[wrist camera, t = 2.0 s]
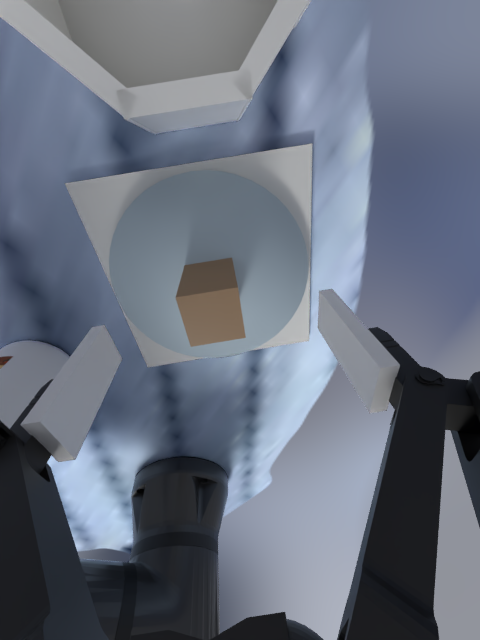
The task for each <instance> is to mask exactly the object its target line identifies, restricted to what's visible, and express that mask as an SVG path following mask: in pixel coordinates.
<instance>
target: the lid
mask: <svg viewBox="0 0 480 640" xmlns="http://www.w3.org/2000/svg"><path fill="white" fill-rule="evenodd" d="M109 269H110V278H111V282H112V287H113V290H114V292H115V295H116V298H117V300H118V302H119V304H120V306H121V307H122V309H123V311H124V312H125V314H126V315H127V317H128V318H129V319H130V321H131V322H132V323H133V324H134V325H135V326H136V327H137V328H138V329H139V330H140V331H141V332H142V333H143V334H145V335H146V336H147V337H149V338H150V339H151V340H153V341H154V342H156V343H158V344H159V345H161V346H163V347H165V348H167V349H170V350H172V351H174V352H177V353H181V354H184V355H188V356H194V357H201V358H221V357H229V356H234V355H238V354H242V353H245V352H248V351H250V350H252V349H255V348H257V347H259V346H261V345H262V344H264V343H266V342H267V341H269V340H270V339H271V338H273V337H274V336H276V335H277V334H278V333H279V332H280V331H281V330H282V329H283V328H284V327H285V326H286V325H287V323H288V322H289V321H290V320H291V318H292V317H293V315H294V314H295V312H296V311H297V309H298V307H299V305H300V303H301V301H302V298H303V295H304V292H305V289H306V284H307V280H308V254H307V249H306V244H305V241H304V238H303V235H302V232H301V230H300V228H299V226H298V224H297V222H296V220H295V218H294V217H293V216H292V214H291V213H290V211H289V210H288V209H287V207H286V206H285V205H284V204H283V203H282V202H281V201H280V200H279V199H278V198H277V197H276V196H275V195H273V194H272V193H271V192H269V191H268V190H267V189H266V188H264V187H262V186H260V185H259V184H257V183H255V182H253V181H252V180H249V179H247V178H244V177H241V176H239V175H236V174H232V173H227V172H223V171H212V170H200V171H190V172H186V173H182V174H177V175H174V176H171V177H169V178H166V179H164V180H162V181H159V182H158V183H156V184H154V185H153V186H151V187H150V188H148V189H146V190H145V191H144V192H143V193H142V194H140V195H139V196H138V197H137V198H136V199H135V200H134V201H133V202H132V203H131V205H130V206H129V207H128V208H127V209H126V210H125V212H124V214H123V215H122V217H121V219H120V220H119V222H118V224H117V227H116V229H115V232H114V234H113V237H112V242H111V246H110V254H109Z"/></svg>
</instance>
